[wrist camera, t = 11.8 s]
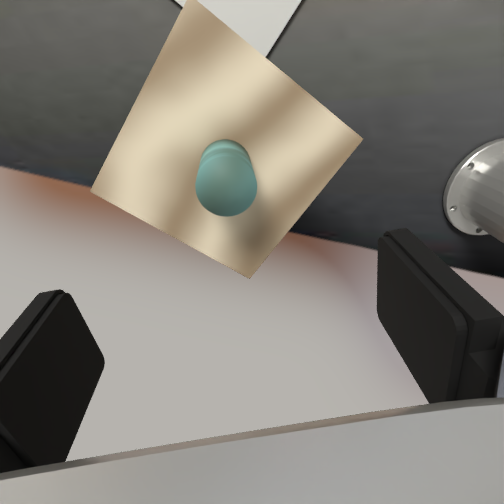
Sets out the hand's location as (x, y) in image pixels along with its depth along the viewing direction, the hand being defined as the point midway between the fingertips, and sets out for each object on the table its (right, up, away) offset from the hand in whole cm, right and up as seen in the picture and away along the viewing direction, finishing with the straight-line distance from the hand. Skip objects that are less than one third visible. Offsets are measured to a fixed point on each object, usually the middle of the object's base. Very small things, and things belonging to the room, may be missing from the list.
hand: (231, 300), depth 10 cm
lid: (-1, +8, +15) cm, 17 cm away
